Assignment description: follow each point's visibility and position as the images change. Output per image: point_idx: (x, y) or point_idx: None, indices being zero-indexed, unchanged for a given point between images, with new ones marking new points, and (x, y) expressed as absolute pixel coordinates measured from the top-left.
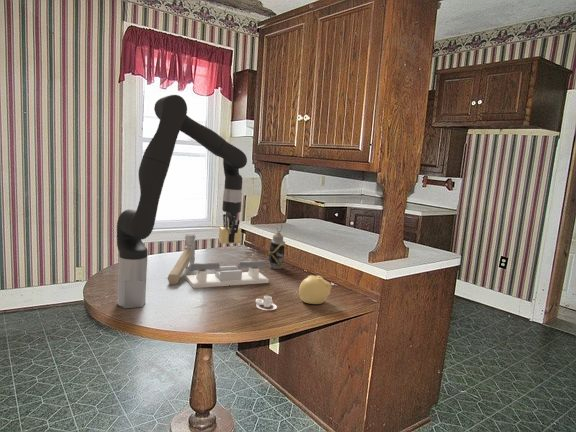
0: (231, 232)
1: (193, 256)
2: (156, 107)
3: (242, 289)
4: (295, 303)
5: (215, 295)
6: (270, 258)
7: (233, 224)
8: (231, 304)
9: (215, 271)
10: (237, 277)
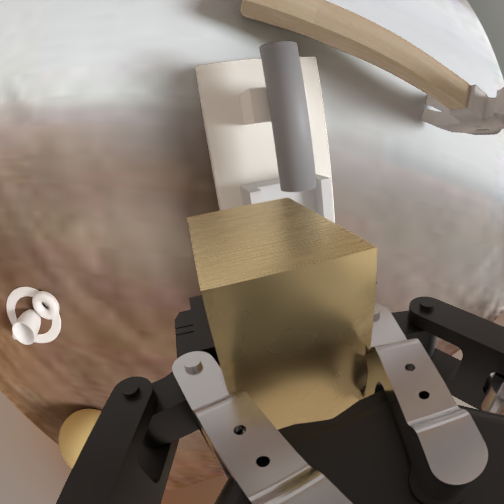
0: (117, 388)
1: (455, 124)
2: None
3: (176, 264)
4: (75, 389)
5: (106, 152)
6: None
7: (60, 500)
8: (27, 208)
9: (316, 175)
10: None
